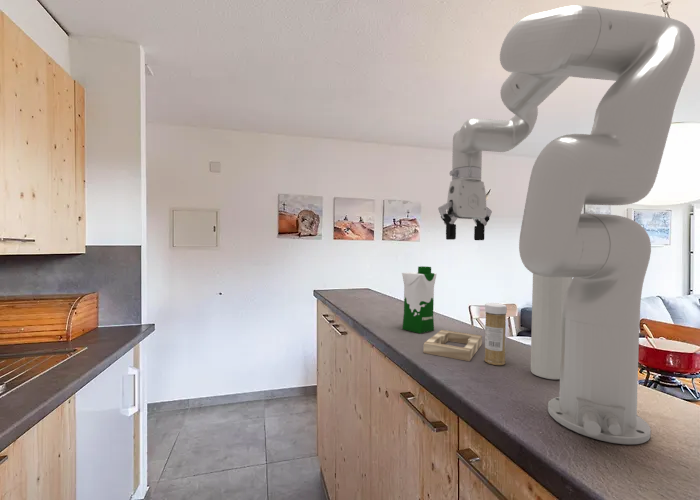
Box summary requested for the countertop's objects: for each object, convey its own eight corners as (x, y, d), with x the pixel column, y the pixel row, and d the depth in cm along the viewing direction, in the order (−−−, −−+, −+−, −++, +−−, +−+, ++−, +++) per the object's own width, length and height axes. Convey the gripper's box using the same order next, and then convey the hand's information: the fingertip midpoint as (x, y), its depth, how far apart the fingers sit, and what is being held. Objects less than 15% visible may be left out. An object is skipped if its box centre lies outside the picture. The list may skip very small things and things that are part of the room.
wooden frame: (469, 361, 78) (469, 351, 78) (423, 352, 84) (423, 343, 84) (481, 344, 92) (482, 335, 92) (441, 338, 97) (441, 329, 97)
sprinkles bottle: (508, 362, 77) (510, 304, 77) (500, 367, 74) (501, 306, 74) (489, 357, 81) (490, 301, 81) (480, 362, 78) (481, 303, 77)
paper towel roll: (529, 376, 69) (532, 272, 69) (531, 367, 75) (533, 270, 74) (571, 384, 66) (574, 274, 65) (570, 374, 71) (572, 272, 71)
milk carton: (420, 334, 100) (421, 267, 100) (397, 328, 107) (398, 266, 107) (438, 330, 106) (439, 266, 106) (415, 324, 113) (416, 265, 113)
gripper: (449, 170, 85) (448, 239, 85) (501, 177, 91) (500, 240, 92) (431, 176, 92) (430, 239, 92) (481, 181, 98) (479, 240, 99)
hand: (465, 239), depth 92 cm, fingers open, 9 cm apart
